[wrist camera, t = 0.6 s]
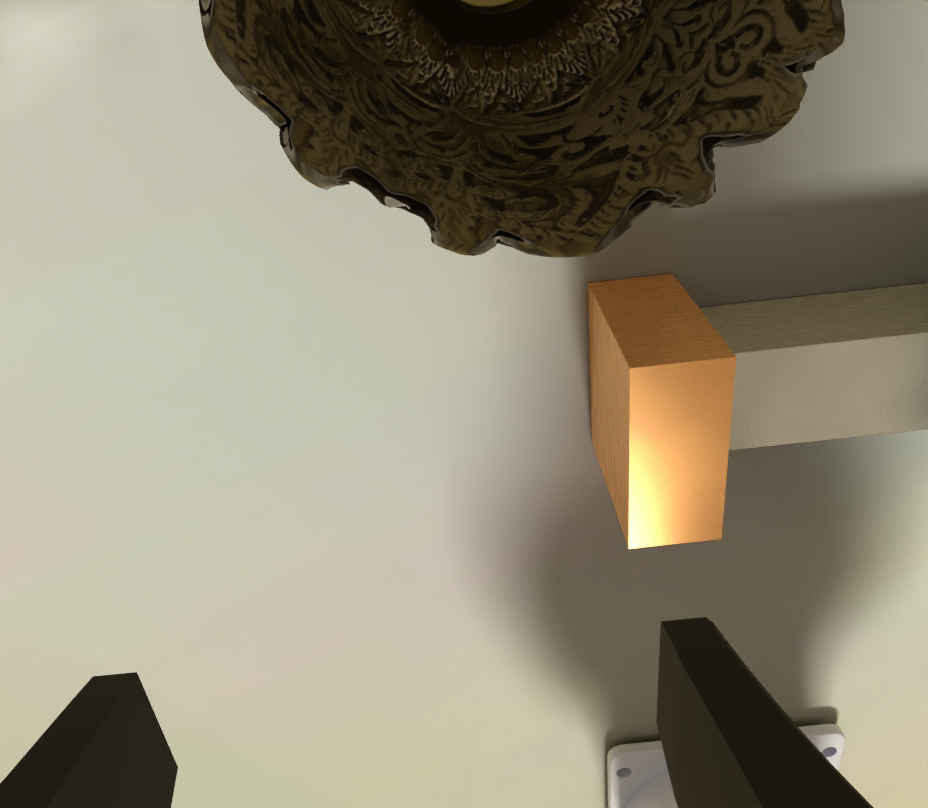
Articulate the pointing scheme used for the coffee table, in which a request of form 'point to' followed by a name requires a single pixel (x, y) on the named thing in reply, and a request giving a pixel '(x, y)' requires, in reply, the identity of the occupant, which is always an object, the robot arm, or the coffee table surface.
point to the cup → (521, 102)
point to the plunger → (738, 388)
